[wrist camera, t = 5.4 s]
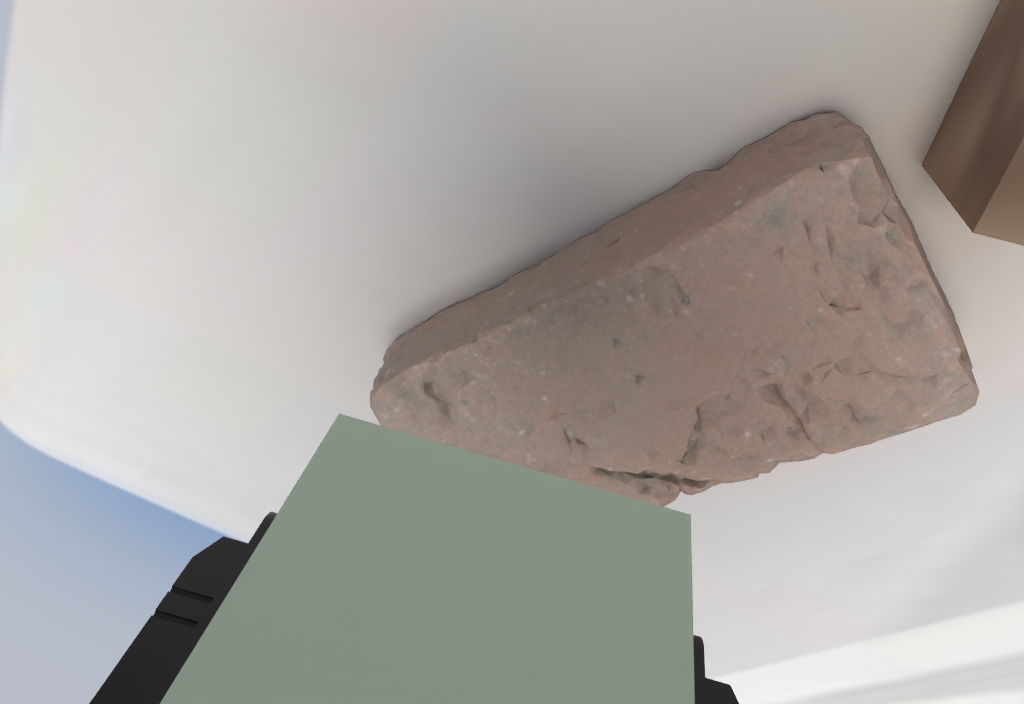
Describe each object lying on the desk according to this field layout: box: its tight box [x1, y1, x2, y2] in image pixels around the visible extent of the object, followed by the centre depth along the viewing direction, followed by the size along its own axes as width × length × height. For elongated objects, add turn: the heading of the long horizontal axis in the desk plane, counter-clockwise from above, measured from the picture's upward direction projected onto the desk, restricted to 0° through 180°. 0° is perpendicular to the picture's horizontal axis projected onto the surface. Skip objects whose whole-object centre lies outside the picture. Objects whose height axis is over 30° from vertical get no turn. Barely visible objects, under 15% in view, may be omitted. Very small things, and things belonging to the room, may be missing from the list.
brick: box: [370, 112, 979, 507], centre depth 26 cm, size 17×8×5 cm, turn 123°
